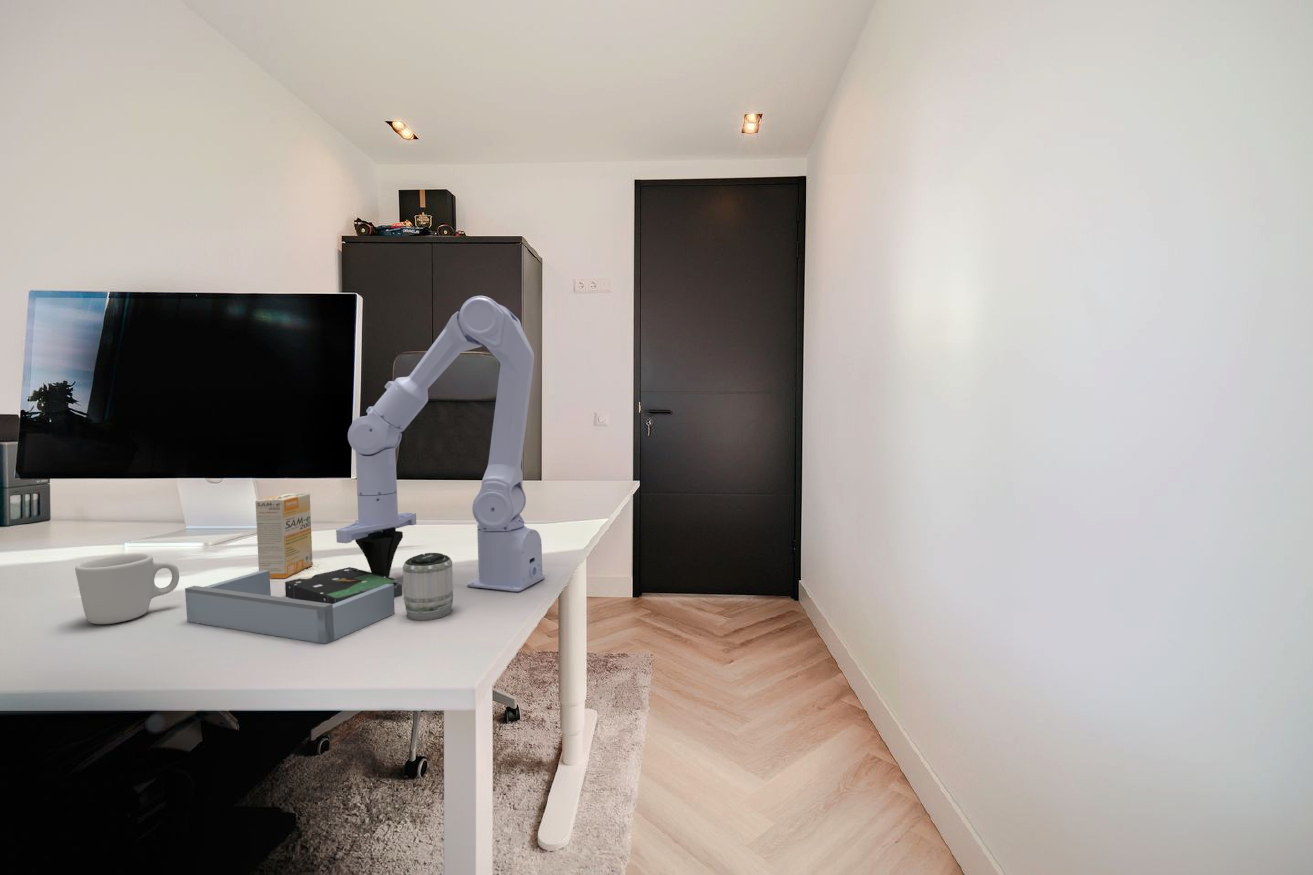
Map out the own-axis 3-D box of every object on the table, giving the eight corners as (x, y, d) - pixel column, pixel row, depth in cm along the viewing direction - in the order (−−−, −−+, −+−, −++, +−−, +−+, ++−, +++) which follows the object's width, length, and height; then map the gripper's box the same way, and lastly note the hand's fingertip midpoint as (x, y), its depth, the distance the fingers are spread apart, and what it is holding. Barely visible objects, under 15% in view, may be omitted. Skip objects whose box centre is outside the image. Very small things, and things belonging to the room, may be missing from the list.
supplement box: (287, 578, 104) (282, 499, 103) (257, 579, 104) (253, 500, 103) (314, 565, 112) (311, 492, 111) (287, 565, 112) (284, 492, 111)
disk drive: (283, 600, 95) (336, 617, 86) (282, 581, 94) (335, 597, 86) (350, 583, 103) (404, 597, 95) (349, 566, 103) (403, 578, 94)
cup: (176, 600, 93) (173, 546, 93) (185, 612, 88) (182, 556, 87) (77, 618, 86) (73, 560, 85) (81, 634, 80) (76, 572, 80)
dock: (394, 613, 86) (393, 581, 86) (325, 643, 76) (324, 607, 75) (265, 596, 95) (263, 566, 94) (187, 621, 84) (185, 588, 84)
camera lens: (394, 618, 84) (392, 560, 84) (426, 603, 90) (424, 549, 90) (433, 623, 82) (430, 563, 82) (463, 608, 88) (461, 552, 88)
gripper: (391, 485, 107) (394, 564, 108) (319, 499, 94) (323, 589, 95) (425, 487, 105) (428, 568, 106) (355, 501, 91) (359, 593, 92)
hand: (381, 578), depth 100 cm, fingers closed
